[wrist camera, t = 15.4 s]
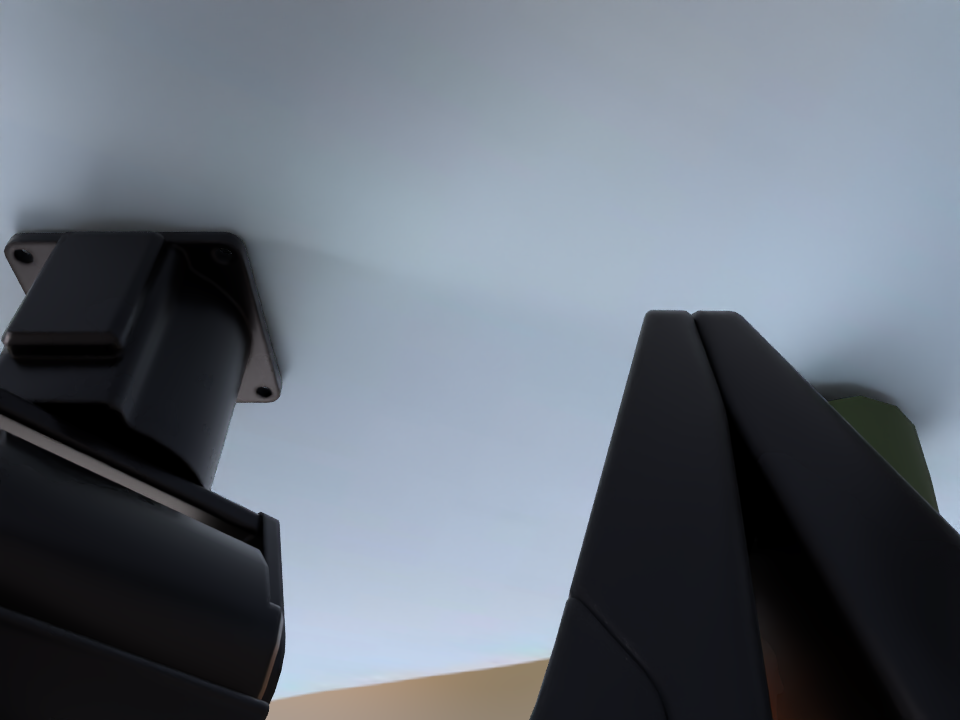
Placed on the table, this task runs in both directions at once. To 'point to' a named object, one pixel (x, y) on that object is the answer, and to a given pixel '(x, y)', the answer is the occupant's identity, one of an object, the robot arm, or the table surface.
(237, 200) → the table surface
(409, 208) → the table surface
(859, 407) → the character mug
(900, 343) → the table surface
